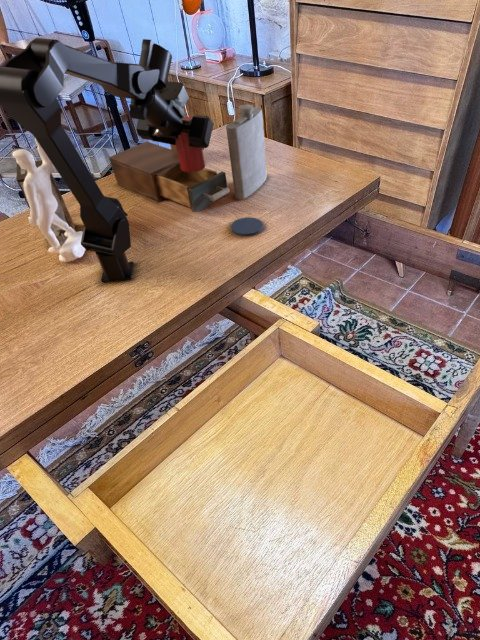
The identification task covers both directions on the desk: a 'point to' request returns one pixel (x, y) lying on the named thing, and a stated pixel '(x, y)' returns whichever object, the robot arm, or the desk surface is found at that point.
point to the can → (188, 153)
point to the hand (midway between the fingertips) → (192, 145)
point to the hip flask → (247, 151)
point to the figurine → (47, 205)
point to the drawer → (192, 186)
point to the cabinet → (142, 168)
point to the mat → (246, 226)
